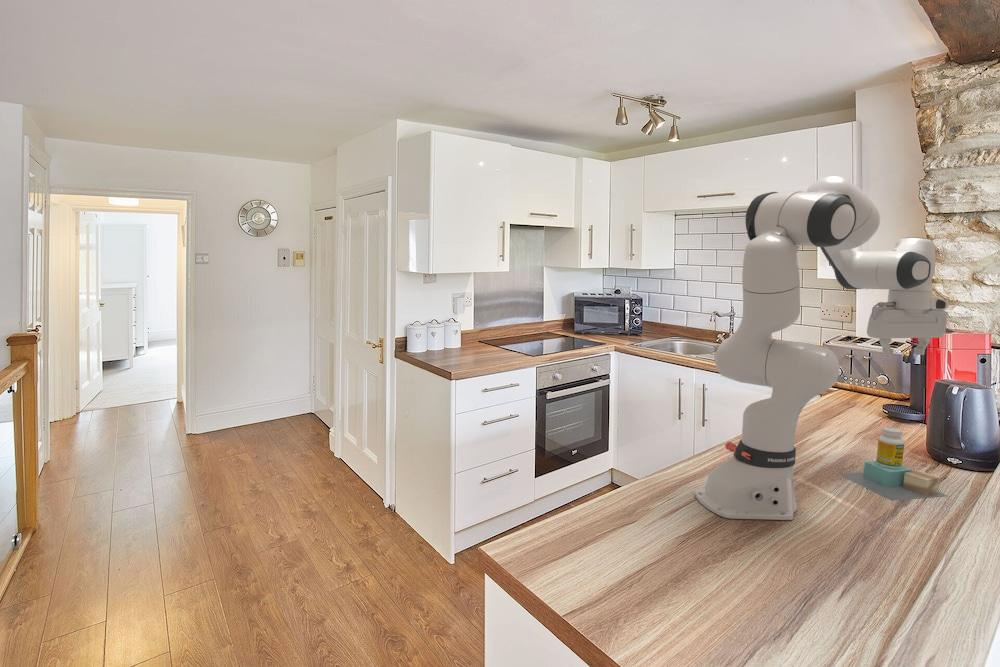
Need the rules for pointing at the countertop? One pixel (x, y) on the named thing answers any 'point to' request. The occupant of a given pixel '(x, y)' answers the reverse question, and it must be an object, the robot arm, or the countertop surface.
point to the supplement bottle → (890, 448)
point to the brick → (921, 482)
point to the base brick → (885, 474)
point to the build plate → (887, 488)
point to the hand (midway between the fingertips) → (903, 354)
